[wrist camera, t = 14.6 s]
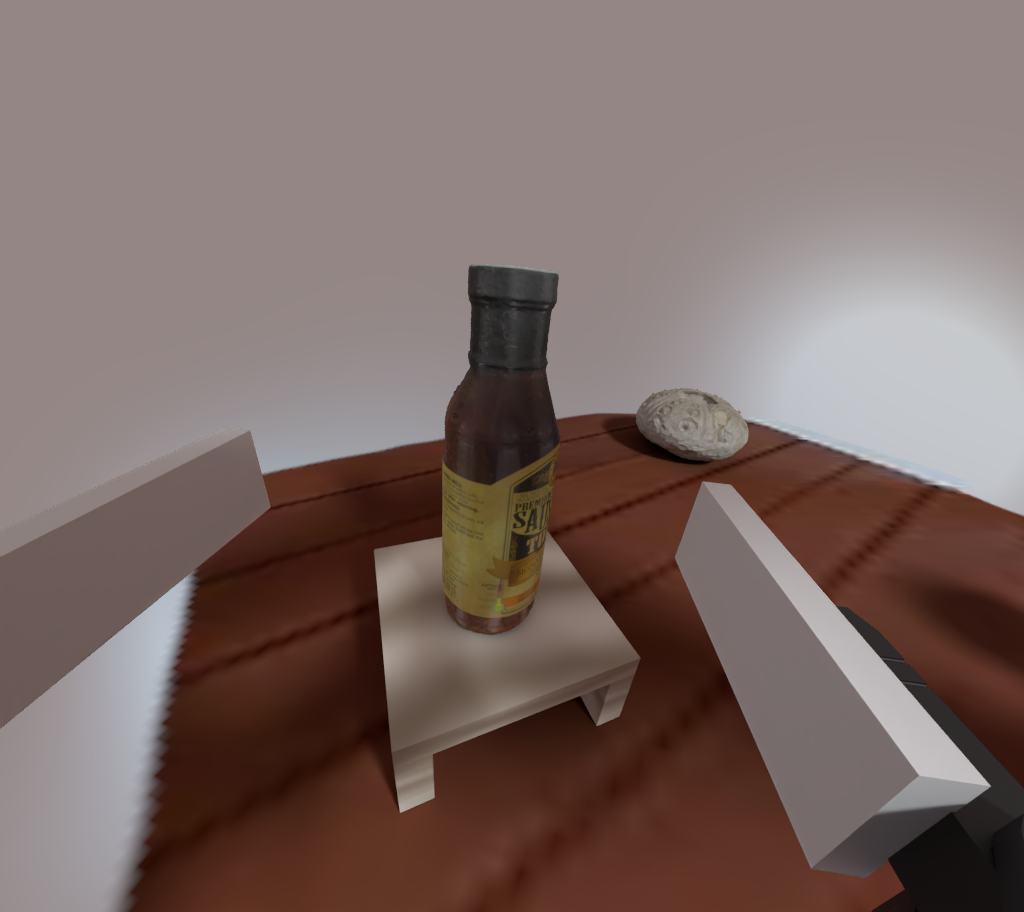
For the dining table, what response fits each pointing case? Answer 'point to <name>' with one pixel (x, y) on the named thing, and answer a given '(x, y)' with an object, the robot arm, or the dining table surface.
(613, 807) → the dining table surface
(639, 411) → the grey rounded lump
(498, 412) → the sauce bottle
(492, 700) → the shelf stand
